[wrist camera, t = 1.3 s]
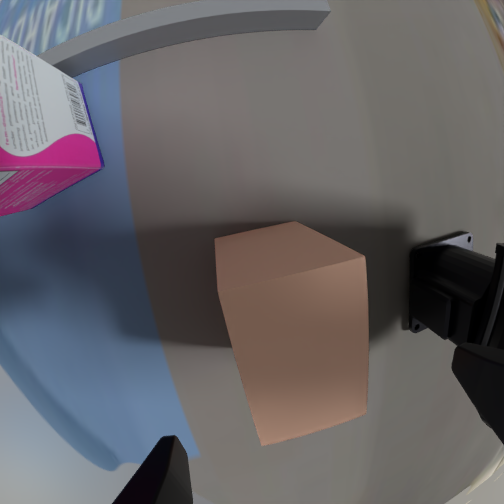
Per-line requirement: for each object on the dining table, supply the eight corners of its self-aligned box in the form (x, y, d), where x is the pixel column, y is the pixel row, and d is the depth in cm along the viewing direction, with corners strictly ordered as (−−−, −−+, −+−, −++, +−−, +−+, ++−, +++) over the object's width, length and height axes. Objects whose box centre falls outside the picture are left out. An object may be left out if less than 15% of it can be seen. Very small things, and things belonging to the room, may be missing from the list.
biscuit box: (297, 220, 16) (369, 255, 9) (313, 329, 18) (369, 412, 10) (214, 238, 16) (217, 292, 8) (241, 348, 18) (261, 445, 10)
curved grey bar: (310, 12, 13) (323, -7, 11) (316, 29, 14) (330, 11, 11) (6, 93, 12) (-15, 85, 9) (6, 111, 12) (-16, 105, 10)
